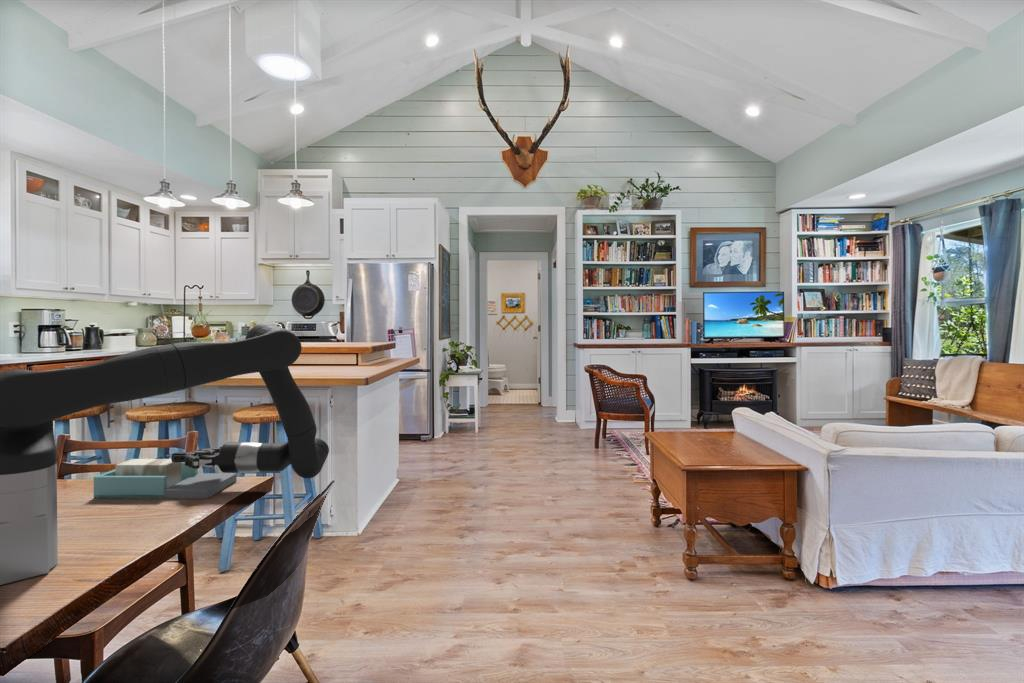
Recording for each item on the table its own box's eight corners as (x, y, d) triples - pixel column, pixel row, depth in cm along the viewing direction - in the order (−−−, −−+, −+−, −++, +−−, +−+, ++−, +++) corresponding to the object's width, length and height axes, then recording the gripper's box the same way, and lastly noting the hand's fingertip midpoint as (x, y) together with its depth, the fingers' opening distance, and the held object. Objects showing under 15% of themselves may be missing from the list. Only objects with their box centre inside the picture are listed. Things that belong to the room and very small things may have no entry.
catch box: (197, 480, 136) (197, 462, 135) (163, 498, 122) (163, 477, 122) (134, 480, 135) (134, 461, 135) (93, 498, 121) (93, 477, 121)
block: (181, 458, 131) (132, 458, 131) (166, 465, 125) (115, 465, 125) (181, 482, 132) (132, 482, 131) (166, 489, 126) (115, 489, 125)
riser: (236, 480, 136) (236, 473, 136) (207, 498, 122) (207, 489, 122) (197, 480, 136) (197, 473, 136) (163, 498, 122) (163, 489, 122)
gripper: (256, 436, 136) (188, 436, 135) (230, 448, 122) (155, 448, 122) (256, 465, 136) (188, 465, 135) (230, 480, 123) (155, 479, 122)
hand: (173, 457), depth 128 cm, fingers closed
